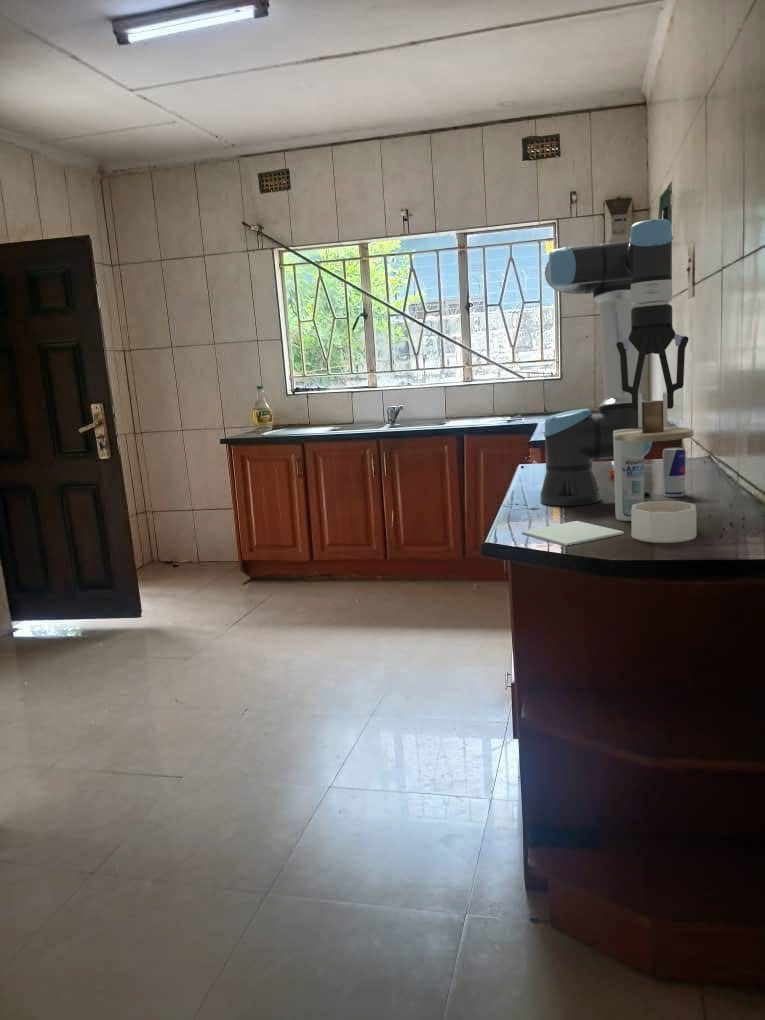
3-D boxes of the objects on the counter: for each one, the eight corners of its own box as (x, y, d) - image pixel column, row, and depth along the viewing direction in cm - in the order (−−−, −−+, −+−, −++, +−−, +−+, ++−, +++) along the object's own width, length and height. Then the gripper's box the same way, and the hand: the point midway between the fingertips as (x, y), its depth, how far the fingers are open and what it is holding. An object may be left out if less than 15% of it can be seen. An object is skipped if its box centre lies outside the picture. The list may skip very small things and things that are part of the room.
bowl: (618, 535, 155) (617, 507, 154) (663, 525, 160) (663, 498, 159) (663, 546, 144) (663, 515, 143) (710, 535, 149) (710, 506, 148)
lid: (597, 439, 153) (596, 404, 151) (652, 430, 159) (652, 397, 158) (653, 443, 140) (653, 405, 138) (710, 434, 146) (710, 398, 144)
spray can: (634, 513, 174) (632, 428, 170) (651, 518, 168) (649, 429, 164) (609, 517, 172) (607, 430, 169) (625, 522, 166) (623, 432, 163)
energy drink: (687, 496, 188) (687, 449, 186) (665, 497, 189) (664, 450, 187) (683, 493, 194) (682, 446, 191) (661, 494, 195) (660, 448, 192)
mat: (522, 533, 164) (521, 531, 163) (576, 522, 170) (576, 520, 170) (566, 546, 150) (566, 543, 150) (623, 533, 156) (623, 531, 156)
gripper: (604, 309, 144) (607, 430, 148) (700, 299, 138) (700, 426, 143) (606, 310, 151) (608, 426, 155) (697, 301, 145) (697, 422, 150)
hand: (652, 425), depth 149 cm, fingers closed on lid, 4 cm apart
